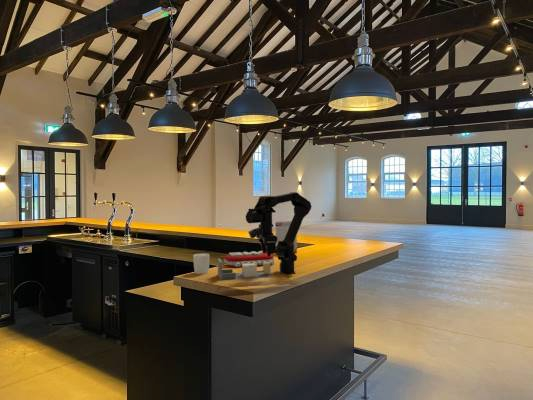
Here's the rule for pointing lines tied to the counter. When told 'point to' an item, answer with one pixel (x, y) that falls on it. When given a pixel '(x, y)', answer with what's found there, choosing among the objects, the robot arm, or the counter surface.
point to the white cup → (201, 263)
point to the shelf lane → (236, 274)
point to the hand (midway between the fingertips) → (266, 254)
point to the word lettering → (247, 259)
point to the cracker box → (284, 232)
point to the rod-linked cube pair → (255, 269)
